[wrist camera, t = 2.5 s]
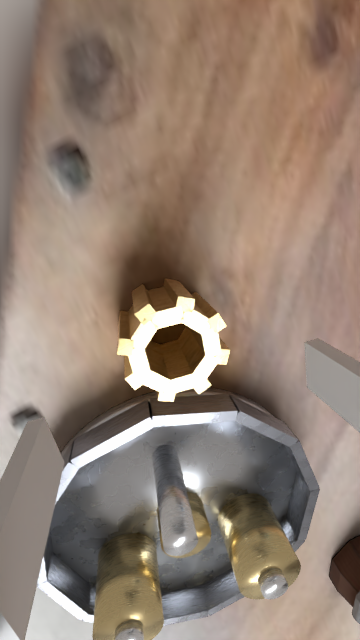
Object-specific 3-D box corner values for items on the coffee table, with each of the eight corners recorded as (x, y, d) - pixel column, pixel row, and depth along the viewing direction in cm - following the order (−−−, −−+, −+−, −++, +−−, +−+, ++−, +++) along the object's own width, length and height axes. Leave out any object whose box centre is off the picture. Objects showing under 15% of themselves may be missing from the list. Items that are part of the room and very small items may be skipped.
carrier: (132, 338, 24) (138, 404, 16) (338, 444, 33) (416, 525, 24) (-6, 556, 29) (-61, 702, 20) (206, 599, 38) (232, 714, 29)
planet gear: (149, 262, 23) (158, 276, 17) (221, 307, 25) (249, 332, 19) (103, 337, 24) (97, 373, 18) (175, 373, 26) (190, 415, 21)
